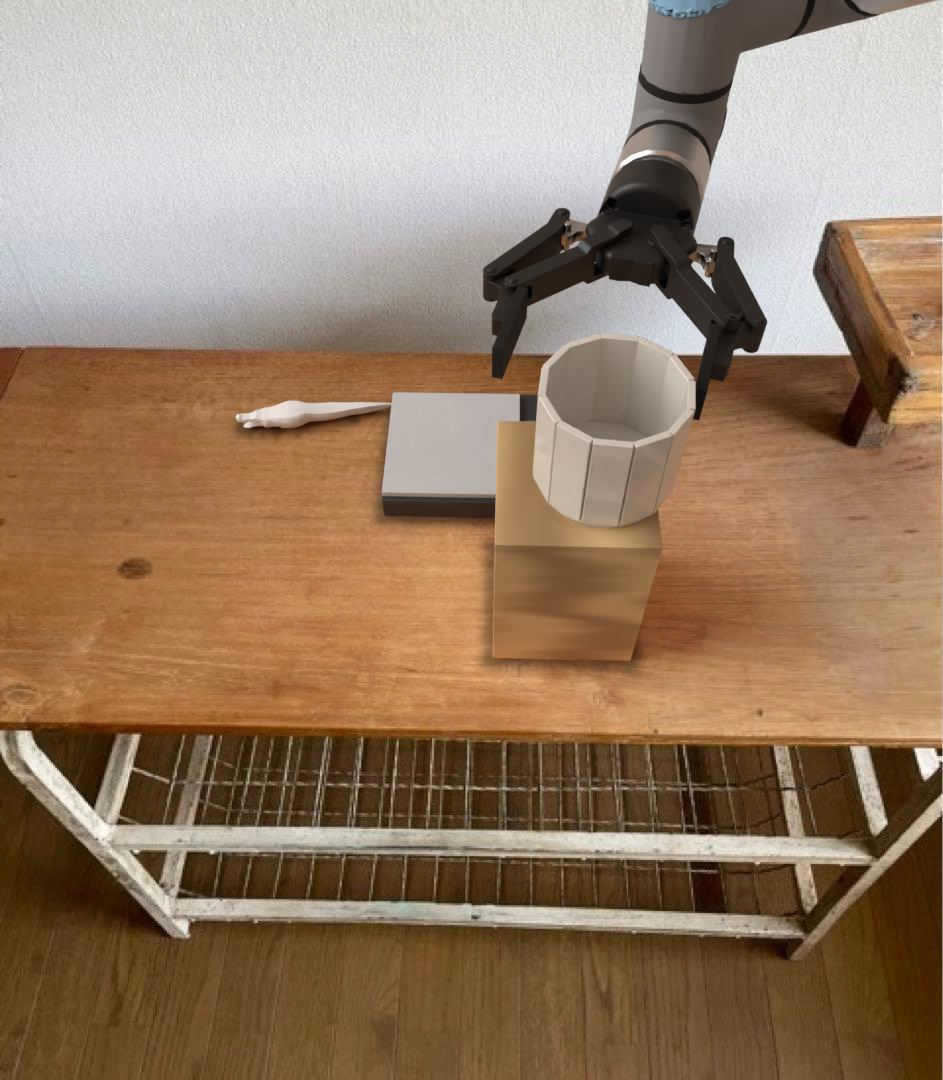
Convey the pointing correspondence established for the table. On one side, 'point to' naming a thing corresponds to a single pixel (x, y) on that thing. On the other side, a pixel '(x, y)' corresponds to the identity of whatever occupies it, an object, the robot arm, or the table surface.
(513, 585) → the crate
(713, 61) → the robot arm
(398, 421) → the scale
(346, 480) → the table surface
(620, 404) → the pot
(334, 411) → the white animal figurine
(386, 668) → the table surface
